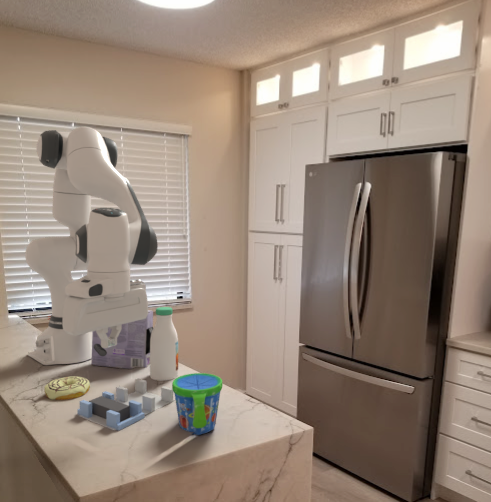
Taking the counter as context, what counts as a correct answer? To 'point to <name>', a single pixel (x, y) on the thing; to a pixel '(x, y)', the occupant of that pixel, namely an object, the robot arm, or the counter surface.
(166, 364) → the milk bottle
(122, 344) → the cake pan box
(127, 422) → the pegged tray
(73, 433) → the counter surface
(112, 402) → the long gray rectangular prism
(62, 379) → the decorated donut
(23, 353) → the counter surface
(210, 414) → the snack cup
